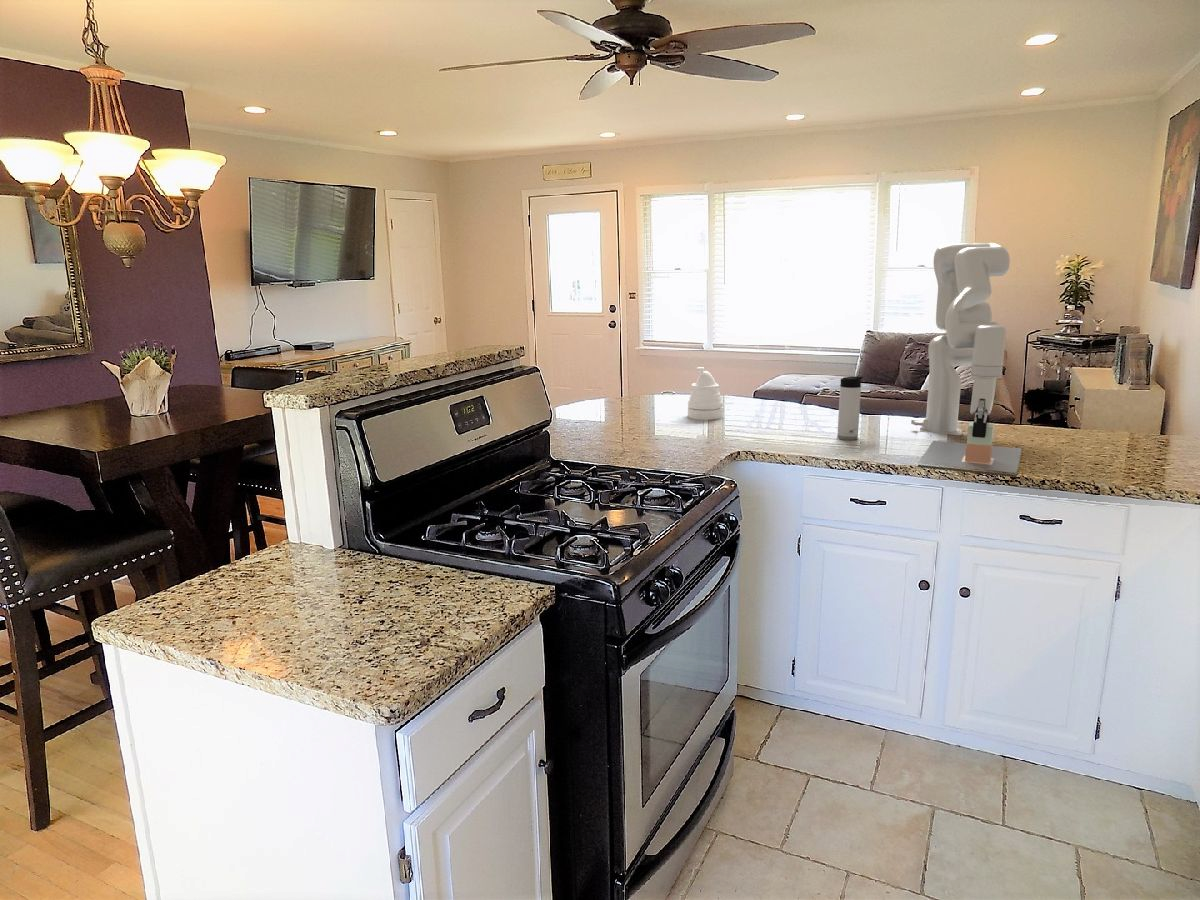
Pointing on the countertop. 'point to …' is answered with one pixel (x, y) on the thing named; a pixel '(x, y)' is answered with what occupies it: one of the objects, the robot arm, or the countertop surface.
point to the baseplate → (955, 457)
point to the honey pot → (705, 398)
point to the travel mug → (849, 408)
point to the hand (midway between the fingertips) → (980, 433)
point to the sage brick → (978, 440)
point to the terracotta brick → (978, 453)
